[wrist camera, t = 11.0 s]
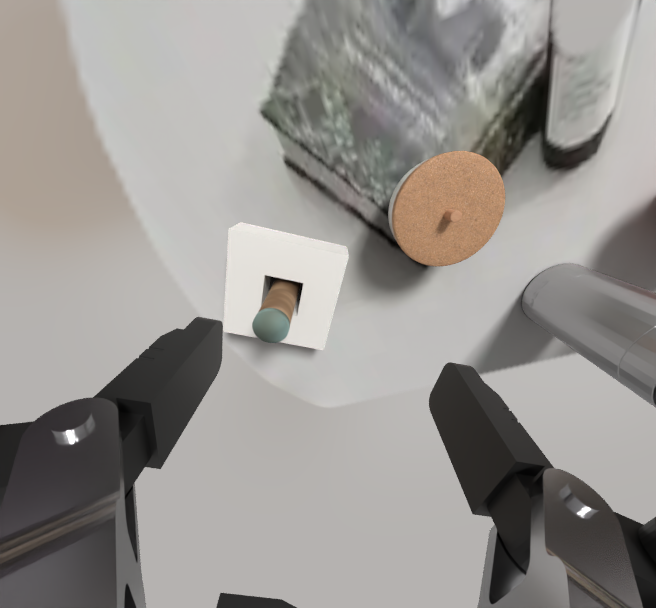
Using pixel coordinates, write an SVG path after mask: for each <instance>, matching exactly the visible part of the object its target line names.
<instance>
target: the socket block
mask: <svg viewBox="0 0 656 608" xmlns="http://www.w3.org/2000/svg"><path fill="white" fill-rule="evenodd" d="M348 257H349V254H348V250H347V246H343V245H338V244H334V243H329V242H325V241H321V240H316V239H312V238H307V237H303V236H299V235H294V234H290V233H285V232H281V231H277V230H272V229H268V228H264V227H259V226H255V225H250V224H246V223H242V222H241V223H239V224H237V225H235V226H233V227H231V228H229V231H228V250H227V269H226V288H225V307H224V326H223V332H228V333H234V334H239V335H244V336H250V337H255V338H258V337H257V336H256V335H255V333H254V331H253V329H252V323H253V320H254V318H255V316H256V314H257V313H258V312H259V310H260V308H261V306H262V304H263V302H264V300H265V298H266V296H267V294H268V291H269V284H270V276H272V277H277V278H281V279H286V280H291V281H296V282H300V283H303V288H302V293H301V298H300V301H296V304H295V308H294V312H293V315H292V319H291V323H290V328H289V332H288V335H287V336H286V338H285V339H283V340H282V341H280V342H282V343H287V344H292V345H298V346H303V347H308V348H314V349H319V350H324V347H325V343H326V340H327V336H328V332H329V328H330V325H331V321H332V317H333V313H334V310H335V306H336V302H337V299H338V295H339V291H340V287H341V284H342V280H343V276H344V272H345V269H346V265H347V261H348Z"/></svg>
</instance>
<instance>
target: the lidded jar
mask: <svg viewBox="0 0 656 608" xmlns="http://www.w3.org/2000/svg"><path fill="white" fill-rule="evenodd" d="M504 204H505V189H504V185H503V181H502V178H501V176H500V174H499V172H498V170H497V169H496V167H495V166H494V165H493V164H492V163H491V162H490V161H489V160H487V159H486V158H484V157H483V156H481V155H478V154H476V153H473V152H467V151H453V152H448V153H443V154H440V155H437V156H435V157H432V158H430V159H427V160H425V161H423V162H421V163H420V164H418V165H416V166H415V167H413V168H412V169H411V170H410V171H408V172H407V173H406V174H405V175H404V177H403V178H402V179H401V180H400V182H399V183H398V184H397V186H396V188H395V190H394V192H393V194H392V197H391V200H390V204H389V211H388V218H389V225H390V229H391V231H392V234H393V236H394V238H395V240H396V241H397V243H398V244H399V246H400V247H401V249H402V250H403V251H404V252H405V253H406V254H407V255H408V256H409V257H410V258H412V259H413V260H415V261H417V262H419V263H421V264H425V265H428V266H447V265H452V264H455V263H458V262H461V261H463V260H465V259H467V258H469V257H470V256H472V255H473V254H475V253H476V252H477V251H478V250H480V249H481V248H482V247H483V246H484V245H485V244H486V243H487V242H488V241H489V239H490V238H491V237H492V235H493V234H494V232H495V230H496V229H497V227H498V225H499V222H500V220H501V218H502V214H503V210H504Z"/></svg>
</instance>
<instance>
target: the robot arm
mask: <svg viewBox="0 0 656 608" xmlns="http://www.w3.org/2000/svg"><path fill="white" fill-rule="evenodd" d="M522 308H523V311H524V313H525V315H526V316H528V317H529V318H530V319H531V320H533V321H534V322H536V323H537V324H538V325H540V326H541V327H543V328H544V329H545V330H547V331H548V332H549V333H551V334H552V335H554V336H555V337H556V338H558V339H559V340H561V341H562V342H564V343H565V344H566V345H568V346H569V347H571V348H572V349H573V350H575V351H576V352H578V353H579V354H580V355H582V356H583V357H585V358H586V359H588V360H589V361H590V362H592V363H593V364H595V365H596V366H597V367H599V368H600V369H602V370H603V371H605V372H606V373H607V374H609V375H610V376H612V377H613V378H615V379H616V380H617V381H619V382H620V383H621V384H623V385H624V386H626V387H628V388H629V389H630V390H632V391H633V392H634V393H636V394H637V395H639V396H640V397H641V398H643V399H644V400H646V401H647V402H649V403H650V404H651V405H653V406H654V407H656V293H655V292H652V291H649V290H646V289H644V288H641V287H638V286H635V285H633V284H630V283H627V282H624V281H621V280H619V279H616V278H613V277H610V276H608V275H605V274H602V273H599V272H597V271H594V270H591V269H588V268H585V267H583V266H580V265H576V264H560V265H556V266H554V267H551V268H549V269H547V270H545V271H543V272H542V273H540V274H539V275H538V276H536V277H535V278H534V279H533V280H532V281H531V283H530V284H529V285H528V287H527V288H526V290H525V292H524V294H523V298H522ZM222 331H223V326H222V322H221V321H218V320H213V319H207V318H202V317H197V318H195V319H194V320H193V321H192V322H191V323H190V324H189V325H188V326H187V327H186V328H185V329H184V330H183V329H175V330H173V331H171V332H169V333H167V334H165V335H162V336H161V337H160V338H158V339H157V340H156V341H155V342H154V343H153V344H152V345H151V346H150V347H149V349H146V350H145V351H144V352H143V353H142V354H141V355H140V356H139V358H136V359H135V360H134V361H133V362H132V363H131V364H130V365H129V366H127V367H126V369H124V370H123V371H122V372H121V373H120V374H119V375H118V376H116V377H115V378H114V379H113V380H112V381H111V382H110V383H109V384H108V385H107V386H105V387H104V388H103V389H102V390H101V391H100V392H99V393H98V394H97V395H95V396H94V397H93V398H83V399H78V400H74V401H71V402H67V403H65V404H62V405H60V406H58V407H56V408H53V409H51V410H50V411H48V412H46V413H45V414H43V415H42V416H40V417H39V418H37V420H35V421H34V422H26V423H18V424H17V423H16V424H7V425H0V608H146V603H145V594H144V587H143V581H142V573H141V563H140V550H139V535H138V521H137V507H136V494H135V484H134V482H135V481H136V479H137V478H138V476H139V475H140V473H141V472H142V470H143V469H144V467H151V468H157V469H161V467H162V466H163V464H164V462H165V460H166V459H167V457H168V455H169V454H170V452H171V450H172V449H173V447H174V446H175V444H176V442H177V441H178V439H179V437H180V436H181V434H182V432H183V431H184V429H185V427H186V426H187V424H188V422H189V421H190V419H191V417H192V416H193V414H194V412H195V411H196V409H197V407H198V406H199V404H200V402H201V401H202V399H203V397H204V396H205V394H206V392H207V391H208V389H209V387H210V385H211V384H212V382H213V381H214V379H215V377H216V376H217V374H218V371H219V369H220V365H221V361H222ZM429 407H430V411H431V414H432V416H433V419H434V421H435V424H436V426H437V429H438V431H439V433H440V436H441V438H442V441H443V443H444V445H445V448H446V450H447V453H448V455H449V458H450V460H451V463H452V465H453V467H454V470H455V472H456V474H457V477H458V479H459V482H460V484H461V487H462V489H463V491H464V494H465V496H466V498H467V501H468V504H469V506H470V508H471V511H472V513H473V514H475V515H482V516H490V517H492V519H493V522H494V523H495V525H494V526H493V527H492V528H491V530H490V533H489V539H488V545H487V552H486V558H485V565H484V571H483V578H482V585H481V591H480V597H479V603H478V607H477V608H656V517H655V518H654V519H652V520H650V521H649V522H648V523H646V524H645V525H643V524H641V523H638V522H636V521H634V520H632V519H629V518H627V517H625V516H622V515H620V514H618V513H616V512H613V510H612V509H611V507H610V506H609V505H608V504H607V503H606V501H605V500H603V498H602V497H601V496H600V495H599V494H598V493H597V492H596V491H595V490H594V489H592V488H591V487H590V486H589V485H587V484H586V483H585V482H583V481H582V480H580V479H579V478H577V477H576V476H574V475H572V474H570V473H568V472H566V471H563V470H560V469H555V468H554V467H553V466H552V465H551V463H550V462H549V461H548V459H547V458H546V457H545V455H544V454H543V453H542V451H541V450H540V449H539V447H538V446H537V445H536V443H535V442H534V441H533V440H532V438H531V437H530V436H529V434H528V433H527V432H526V430H525V429H524V428H523V426H522V425H521V424H520V423H518V422H517V418H516V417H515V416H514V415H513V413H512V412H511V411H509V408H508V407H507V405H506V404H505V403H504V401H503V400H502V399H501V397H500V396H499V395H498V394H497V393H496V392H495V391H493V390H492V389H491V388H490V387H489V386H488V385H487V384H485V383H484V382H483V381H482V379H481V378H480V376H479V375H478V373H477V372H476V371H475V369H474V368H473V367H471V366H467V365H461V364H456V363H447V364H446V365H445V366H444V368H443V370H442V372H441V374H440V376H439V378H438V380H437V382H436V384H435V386H434V388H433V390H432V392H431V394H430V398H429ZM217 608H296V607H295V606H293V605H291V604H289V603H287V602H285V601H283V600H280V599H271V598H262V597H254V596H244V595H236V594H226V593H221V594H220V597H219V600H218V604H217Z"/></svg>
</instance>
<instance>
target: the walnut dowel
mask: <svg viewBox="0 0 656 608" xmlns="http://www.w3.org/2000/svg"><path fill="white" fill-rule="evenodd" d="M300 285H301V283H300V282H296V281H291V280H286V279H281V278H277V277H276V279H275V281H274V283H273V285H272V287H271V289H270V291H269V293H268V294H267V296H266V298H265V300H264V302H263V304H262V306H261V308H260V310H259V312H258V313H257V314H256V316H255V318H254V320H253V323H252V329H253V331H254V333H255V335H256V336H257V337H258V338H259V339H261V340H262V341H265V342H268V343H276V342H280V341H282V340H283V339H285V338H286V336H287V335H288V332H289V328H290V323H291V319H292V315H293V312H294V308H295V304H296V300H297V297H298V293H299V289H300Z"/></svg>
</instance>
